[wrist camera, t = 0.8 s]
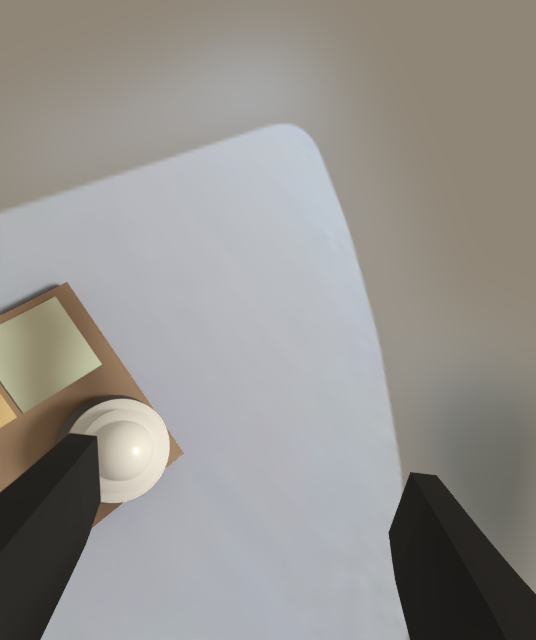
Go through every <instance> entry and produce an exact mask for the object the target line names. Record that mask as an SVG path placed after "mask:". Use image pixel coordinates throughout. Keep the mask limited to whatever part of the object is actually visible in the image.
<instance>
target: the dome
mask: <svg viewBox="0 0 536 640" xmlns="http://www.w3.org/2000/svg"><path fill="white" fill-rule="evenodd" d="M69 433H76V434H84V435H93V436H97V440H98V457H99V475H100V492H101V502H105V503H121V502H126V501H129V500H132V499H134V498H137V497H139V496H140V495H142V494H144V493H145V492H146V491H148V490H149V489H150V488H151V487H152V486H153V485H154V484H155V483H156V482H157V481H158V479H159V478H160V476H161V475H162V473H163V471H164V469H165V467H166V464H167V461H168V457H169V450H170V442H169V435H168V431H167V429H166V426H165V424H164V422H163V421H162V419H161V418H160V416H159V415H158V414H157V413H156V412H155V411H154V410H153V409H152V408H150V407H149V406H147V405H145V404H144V403H141V402H139V401H135V400H131V399H114V400H109V401H106V402H103V403H100V404H98V405H95V406H94V407H92V408H90V409H89V410H87V411H86V412H85V413H83V414H82V415H81V416H80V417H79V418H78V419H77V421H76V422H75V423H74V425H73V426H72V428H71V429H70V431H69Z"/></svg>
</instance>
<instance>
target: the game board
mask: <svg viewBox="0 0 536 640" xmlns="http://www.w3.org/2000/svg"><path fill="white" fill-rule="evenodd" d="M114 399H131V400H135V401H139V402H141V403H144V404H145V405H147V406H149V407H150V408H152V406H151V405H150V403H149V402H148V400H147V399H146V397H145V396H144V394H143V393H142V391H141V390H140V389H139V387H138V386H137V384H136V383H135V381H134V380H133V378H132V377H131V375H130V374H129V372H128V371H127V369H126V368H125V367H124V365H123V364H122V362H121V361H120V359H119V358H118V356H117V355H116V353H115V352H114V350H113V349H112V347H111V346H110V345H109V343H108V342H107V340H106V339H105V337H104V336H103V334H102V333H101V331H100V330H99V328H98V327H97V325H96V324H95V323H94V321H93V320H92V318H91V317H90V315H89V314H88V312H87V311H86V309H85V308H84V306H83V305H82V303H81V302H80V301H79V299H78V298H77V296H76V295H75V293H74V292H73V290H72V289H71V287H70V286H69V284H68V283H67V282H66V283H64V284H62V285H60V286H58V287H56V288H54V289H52V290H50V291H48V292H46V293H44V294H42V295H40V296H38V297H36V298H34V299H32V300H30V301H28V302H26V303H24V304H22V305H20V306H18V307H16V308H14V309H12V310H10V311H8V312H6V313H4V314H2V315H0V492H1V491H2V490H3V489H4V488H6V487H7V486H8V485H9V484H11V483H12V482H13V481H14V480H15V479H17V478H18V477H19V476H20V475H21V474H23V473H24V472H25V471H26V470H27V469H28V468H30V467H31V466H32V465H33V464H34V463H35V462H37V461H38V460H39V459H40V458H41V457H42V456H43V455H45V454H46V453H47V452H48V451H49V450H50V449H51V448H53V447H54V446H55V445H56V444H57V443H58V442H60V441H61V440H62V439H63V438H64V437H65V436H67V435H68V434H69V431H70V429H71V428H72V426H73V425H74V423H75V422H76V421H77V419H78V418H79V417H80V416H81V415H82V414H83V413H85V412H86V411H87V410H89V409H90V408H92V407H94V406H95V405H98V404H100V403H103V402H106V401H109V400H114ZM152 409H153V408H152ZM153 410H154V409H153ZM166 429H167V428H166ZM167 431H168V430H167ZM168 435H169V442H170V450H169V457H168V461H167V464H166V467H167V466H169V465H170V464H171V463H172V462H173V461H175V460H176V459H177V458H178V457H180V456H181V455H182V454H183V452H182V450H181V449H180V447H179V446H178V444H177V443H176V441H175V440H174V438H173V437H172V435H171V434H170V433H169V431H168ZM166 467H165V468H166ZM122 503H123V502H121V503H105V502H100V505H99V508H98V511H97V514H96V517H95V520H94V523H93V525H92V527H94V526H95V525H96V524H97V523H98V522H100V521H101V520H102V519H103V518H105V517H106V516H107V515H108V514H110V513H111V512H112V511H113V510H114V509H116V508H117V507H118V506H119V505H121V504H122Z"/></svg>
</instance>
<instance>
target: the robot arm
mask: <svg viewBox="0 0 536 640" xmlns="http://www.w3.org/2000/svg"><path fill="white" fill-rule="evenodd" d="M100 502H101V492H100V475H99V457H98V440H97V436H93V435H84V434H76V433H69V434H68V435H67V436H65V437H64V438H63V439H62V440H61V441H60V442H58V443H57V444H56V445H55V446H54V447H53V448H51V449H50V450H49V451H48V452H47V453H46V454H45V455H43V456H42V457H41V458H40V459H39V460H38V461H37V462H35V463H34V464H33V465H32V466H31V467H30V468H28V469H27V470H26V471H25V472H24V473H23V474H21V475H20V476H19V477H18V478H17V479H15V480H14V481H13V482H12V483H11V484H9V485H8V486H7V487H6V488H4V489H3V490H2V491H1V492H0V640H40V639H41V637H42V635H43V633H44V631H45V629H46V627H47V625H48V623H49V621H50V618H51V616H52V614H53V612H54V610H55V608H56V606H57V604H58V602H59V600H60V598H61V596H62V594H63V591H64V589H65V587H66V585H67V583H68V581H69V579H70V577H71V575H72V573H73V570H74V568H75V566H76V564H77V562H78V560H79V558H80V556H81V554H82V551H83V549H84V547H85V545H86V542H87V539H88V537H89V534H90V531H91V528H92V525H93V523H94V520H95V517H96V514H97V511H98V508H99V505H100ZM389 539H390V547H391V555H392V562H393V569H394V575H395V581H396V585H397V589H398V593H399V597H400V601H401V605H402V609H403V613H404V617H405V621H406V625H407V629H408V633H409V637H410V640H536V594H535V593H534V592H533V591H532V590H531V589H530V587H529V586H528V585H527V584H526V583H525V582H524V581H523V580H522V579H521V578H520V576H519V575H518V574H517V573H516V572H515V571H514V569H513V568H512V567H511V566H510V565H509V564H508V562H507V561H506V560H505V559H504V558H503V557H502V556H501V554H500V553H499V552H498V551H497V549H496V548H495V547H494V546H493V545H492V544H491V542H490V541H489V540H488V539H487V537H486V536H485V535H484V534H483V533H482V531H481V530H480V529H479V528H478V526H477V525H476V524H475V523H474V522H473V520H472V519H471V518H470V517H469V515H468V514H467V513H466V512H465V510H464V509H463V508H462V507H461V505H460V504H459V503H458V501H457V500H456V499H455V498H454V497H453V495H452V494H451V493H450V491H449V490H448V489H447V488H446V486H445V485H444V484H443V483H442V482H441V480H440V479H439V478H438V477H437V476H436V475H429V474H420V473H410V475H409V478H408V480H407V483H406V486H405V489H404V491H403V494H402V497H401V500H400V503H399V505H398V508H397V511H396V514H395V517H394V519H393V522H392V525H391V528H390V530H389Z"/></svg>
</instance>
